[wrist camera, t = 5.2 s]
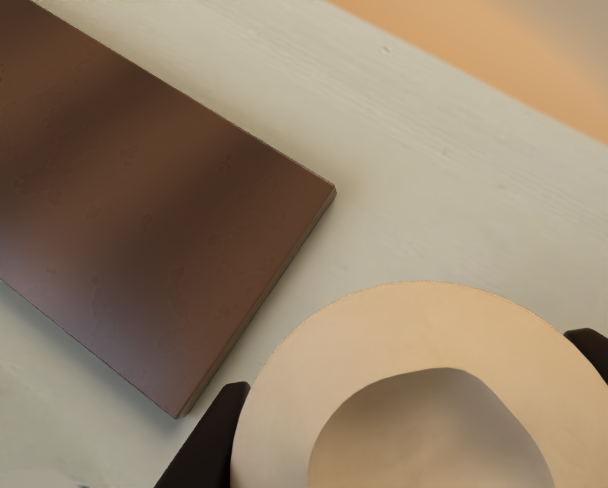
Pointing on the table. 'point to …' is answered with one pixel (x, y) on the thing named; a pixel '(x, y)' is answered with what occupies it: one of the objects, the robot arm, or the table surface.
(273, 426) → the candle
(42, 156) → the walnut board
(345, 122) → the table surface
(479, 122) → the table surface
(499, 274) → the table surface
